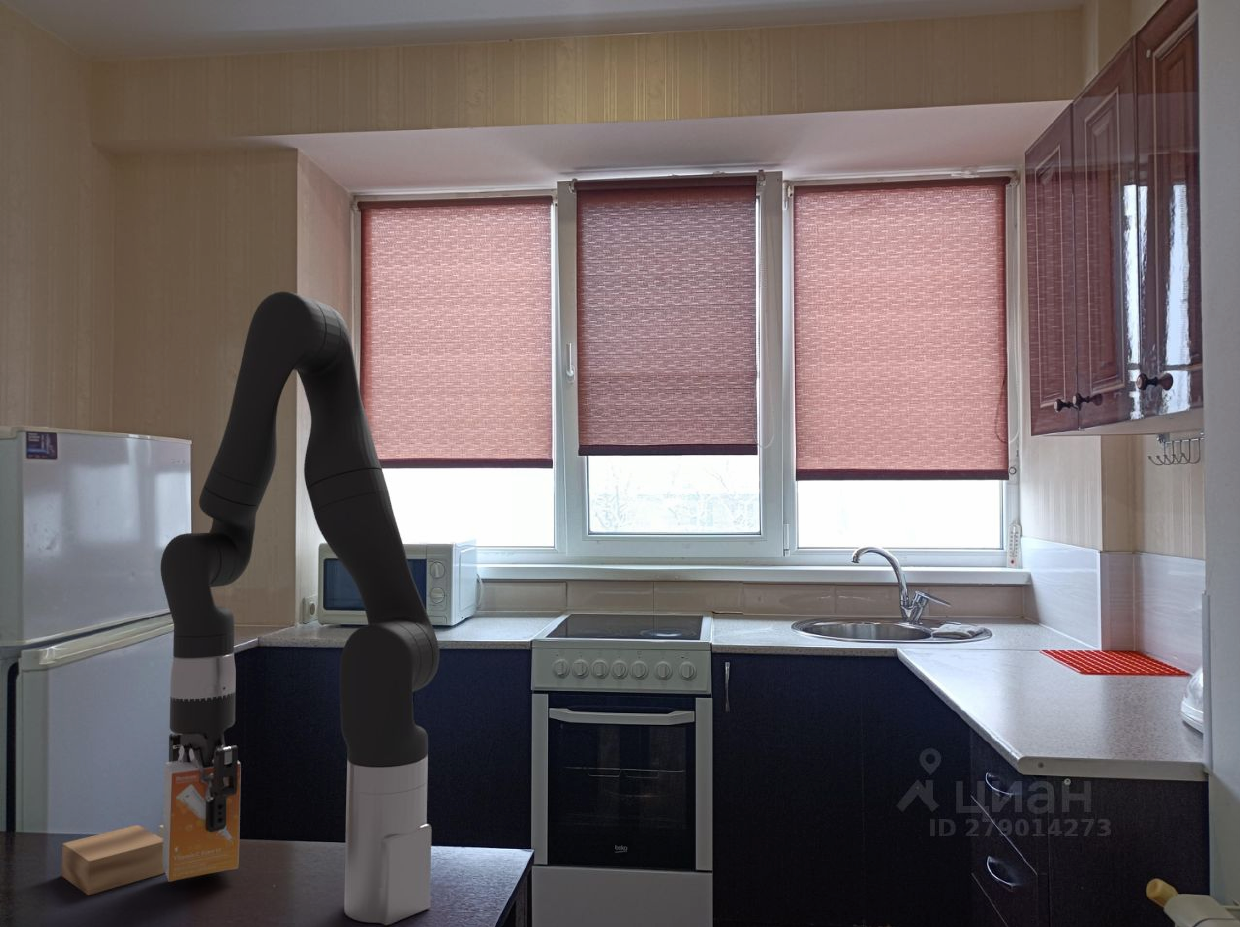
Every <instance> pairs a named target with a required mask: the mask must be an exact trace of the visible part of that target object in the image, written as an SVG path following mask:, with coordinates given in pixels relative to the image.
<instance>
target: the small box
mask: <svg viewBox="0 0 1240 927" xmlns="http://www.w3.org/2000/svg"><path fill="white" fill-rule="evenodd" d="M241 767H242V765H241V762H240V761H239V760H238V773H237V793H236V794H235V795H231V796H229V797H227V798H226V826H225V828H224V829H222V830H218V831H215V832H209V831H207V830H206V801H207V799H206V795H205V791H204V787H203V785H200V784H199V770H198V769H197V768H195V767H194V764H192V763H190V762H184V763H182V762H178V761H174V762H169V761H166V762H164V773H163V774H164V778H163V779H164V781H163V782H164V783H163V812H162V814H163V818H162V825H163V856H162V866H163V869H164V871H165V873H164V874H165V876H166V879H167V881H168V883H169V882H170V883H171V882H174V881H179V880H184V879H186V878H187V879H188V878H194V877H198V876H203V875H209V874H213V873H219V872H224V871H229V870H235V869H236V870H237V869H239V866H240V865H239V864H240V863H239V861H240V860H239V859H240V827H241V826H240V823H241V821H240V820H241V817H240V816H241V777H242V776H241V774H242V772H241V770H242V768H241ZM204 771H205V773H206V774H212V773H213V771H214V766H212V767H208V768H204ZM227 782H228V786H229V777H227ZM211 784H212V788H213V781H211Z"/></svg>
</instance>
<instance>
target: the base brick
mask: <svg viewBox="0 0 1240 927" xmlns="http://www.w3.org/2000/svg"><path fill="white" fill-rule="evenodd" d="M61 849H62V850H61V851H62V852H61V873H60V874H61V877H62V878H64V879H66V881H68V882H69V883H70V884H72V885H74V886H75V887H76V888H77V889H79V890H80V891H82V892H83V893H84V894H85V895H87V896H92V895H94V894H98V893H101V892H104V891H108V890H112V889H115V888H118V887H121V886H125V885H129V884H131V883H134V882H139V881H143V880H145V879H150V878H151V877H152V878H153V877H157V876H159V875H162V874H163V875H164V874H165V871H164V869H163V866H162V856H163V838H161V837H159V835H157V834H155V833H154V832H151V831H150V830H148V829H146V828H145V827H143V826H140V824H139V825H138V824H136V825H131V826H127V827H124V828H119V829H115V830H111V831H107V832H102V833H100V834H95V835H92V836H91V835H90V836H88V837H83V838H79V839H75V840H70V841H66V842H63V843H62V848H61Z"/></svg>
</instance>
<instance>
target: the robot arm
mask: <svg viewBox="0 0 1240 927" xmlns="http://www.w3.org/2000/svg"><path fill="white" fill-rule="evenodd" d="M255 309H256V310H255V312H254V313H253V315H252V319H251V321H250V325H249V328H248V330H247V335H246V339H245V342H244V343H245V344H244V348H243V353H242V358H241V361H240V362H241V363H240V366H239V371H238V375H237V381H236V384H235V388H234V393H233V396H232V397H233V398H232V402H231V407H230V411H229V416H228V419H227V422H226V426H225V430H224V434H223V436H222V440H221V442H220V446H219V447H218V450H217V453H216V455H215V458H214V460H213V463H212V465H211V467H210V470H209V472H208V475H207V477H206V480H205V482H204V484H203V487H202V490H201V493H200V495H199V499H198V506H199V509H200V510H201V512H203V513H204V514H205V515H206V516H208V517H209V518H212V523H211V527H210V530H209V532H190V533H187V532H186V533H182V534H179V535H177V536H175V537H173V538H172V539H171V540H170V541H169V542H168V543H167V545H166V546H165V548H164V550H163V553H162V556H161V560H160V577H161V582H162V585H163V589H164V594H165V597H166V600H167V605H168V608H169V609H168V610H169V612H170V614H171V615H170V616H171V618H172V622H173V642H172V643H173V652H172V656H173V657H172V663H171V671H170V680H169V681H170V682H169V683H170V684H169V685H170V686H169V688H170V692H169V730H170V731H171V732H172V733H170V734H169V736H168V762H174V761H178V762H182V763H184V762H190V763H192V764H194V767H195V768H197V769H198V770H199V784H200V785H203V787H204V791H205V795H206V799H207V801H206V830H207V831H209V832H215V831H218V830H222V829H224V828H225V826H226V798H227V797H229V796H231V795H235V794H236V793H237V773H238V761H239V748H238V746H237V745H236V744H235V745H234V744H233V745H230V746H226V742H225V736H224V732H225V731H226V730H227V729H229V728H231V727H233V726H234V725H235V722H236V689H237V688H236V684H237V683H236V680H237V678H236V677H237V676H236V675H237V674H236V672H237V671H236V670H237V669H236V662H235V653H234V652H235V617H234V614H233V612H232V611H231V609H229V608H227V607H224V606H219V605H216V602H215V601H214V597H213V593H212V589H211V588H215V587H216V588H217V587H218V588H219V587H224V586H228V585H231V584H233V583H234V582H236V581H238V579H239V578H241V576H242V575H243V573H244V572H245V571H246V569H247V568H248V565H249V563H250V561H251V557H252V551H253V545H254V544H253V543H254V537H255V536H254V535H255V531H256V519H257V518H256V516H257V512H258V510H259V508H260V505H261V503H262V501H263V498H264V496H265V494H266V491H267V489H268V486H269V484H270V481H271V478H272V476H273V473H274V469H275V466H276V459H277V451H278V450H277V448H278V447H277V446H278V445H277V438H278V437H277V417H278V416H277V415H278V406H279V401H280V398H281V396H282V393H283V390H284V388H285V385H286V383H287V381H288V380H289V378H290V375H291V374H292V373H293V371H296V372H297V374H298V376H299V378H300V380H301V383H302V385H303V390H304V393H305V396H306V400H307V403H308V407H309V414H310V429H309V436H308V441H307V446H306V451H305V457H304V465H303V466H304V467H303V476H304V481H305V482H304V483H305V486H306V490H307V494H308V499H309V501H310V505H311V509H312V513H313V517H314V519H315V522H316V525H317V527H318V529H319V531H320V533H321V535H322V537H323V539H324V540H325V542H326V544H327V545H328V546H329V548H330V549H331V551H332V552H333V554H334V555H335V556H336V557H337V559H338V560H339V562H340V563H341V564H342V566H343V567H344V568H345V570H346V571H347V572H348V574H349V576H350V577H351V578H352V580H353V582H354V583H355V585H356V588H357V590H358V592H359V595H360V597H361V598H360V599H361V601H362V604H363V607H364V611H365V615H366V619H367V623H368V624H365V625H364V626H361V627H358V628H357V629H356V630H354V632H352V633H351V634H350V636H349V637H347V640H346V642H345V644H344V646H343V649H342V652H341V658H340V665H339V705H340V706H339V708H340V728H341V729H340V730H341V734H342V737H343V740H344V742H345V744H346V748H347V757H346V758H347V760H346V761H347V763H346V764H347V766H346V769H347V770H346V801H345V802H346V804H345V805H346V806H345V809H346V810H345V845H344V846H345V848H344V849H345V852H344V853H345V856H344V857H345V859H344V903H343V904H344V905H343V906H344V907H343V909H344V910H343V911H344V913H345V915H346V916H347V917H348V918H349V919H352V920H355V921H358V922H364V923H373V924H374V923H376V924H377V923H378V924H382V925H384V926H389V925H392V924H394V923H396V922H399V921H401V920H403V919H406V918H409V917H410V916H414V915H416V914H418V913H421V912H423V911H425V910H428V909H430V908H431V882H432V881H431V879H432V877H431V876H432V874H431V871H432V869H431V868H432V867H431V866H432V826H431V824H429V823H427V822H428V820H427V819H428V818H427V817H428V816H427V813H428V809H427V808H428V807H427V806H428V803H427V802H428V769H429V766H428V761H429V760H428V759H429V757H428V756H429V755H428V754H429V738H428V737H429V735H428V733H427V731H426V729H424V728H423V727H422V726H419V725H416V723H415V720H414V705H413V704H414V701H413V693H414V692H416V691H419V690H421V689H423V688H424V687H426V686H427V685H428V684H430V683H431V681H432V680H433V679H434V677H435V676H436V674H437V671H438V668H439V663H440V646H439V642H438V639H437V635H436V633H435V629H434V627H433V624H432V623H431V619H430V617H429V614H428V612H427V610H426V608H425V604H424V603H423V600H422V597H421V595H420V593H419V589H418V587H417V585H416V582H415V580H414V577H413V575H412V574H413V573H412V572H411V567H410V564H409V562H408V558H407V554H406V550H405V547H404V543H403V540H402V536H401V533H400V530H399V527H398V522H397V520H396V516H395V514H394V509H393V505H392V501H391V495H390V492H389V488H388V486H387V482H386V478H385V476H384V472H383V468H382V465H381V463H380V460H379V457H378V454H377V450H376V447H375V443H374V439H373V436H372V431H371V429H370V425H369V421H368V417H367V414H366V411H365V407H364V405H363V404H364V403H363V400H362V399H363V398H362V396H361V395H362V394H361V392H360V391H361V390H360V385H359V379H358V372H357V367H356V361H355V356H354V350H353V345H352V339H351V334H350V332H349V328H348V326H347V323H346V321H345V319H344V318H343V316H342V315H341V314H340V312H338V311H337V310H336V309H335V308H333V307H332V306H330V305H328V304H325V303H323V302H320V301H318V300H315V299H313V298H311V297H307V296H304V295H301V294H299V293H295V292H292V291H277V292H274V293H272V294H270V295H269V294H268V296H266V297H265V298H264V299H263V300H262V301H261V303H260V304H259V305H258V306H257V308H255ZM212 766H214V771H213V773H212V774H206V773H205V771H204V768H208V767H212ZM227 777H229V786H228V782H227ZM211 781H213V788H212V784H211Z"/></svg>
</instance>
